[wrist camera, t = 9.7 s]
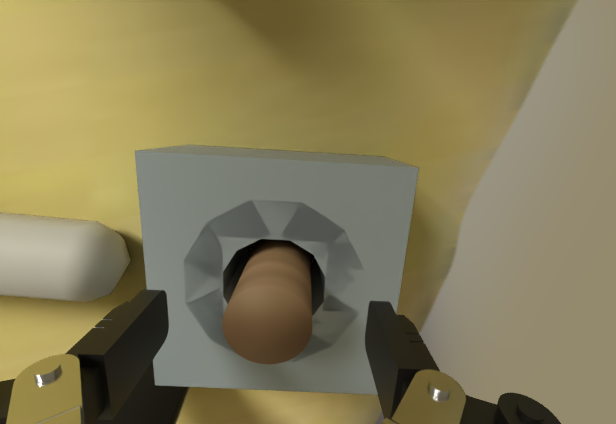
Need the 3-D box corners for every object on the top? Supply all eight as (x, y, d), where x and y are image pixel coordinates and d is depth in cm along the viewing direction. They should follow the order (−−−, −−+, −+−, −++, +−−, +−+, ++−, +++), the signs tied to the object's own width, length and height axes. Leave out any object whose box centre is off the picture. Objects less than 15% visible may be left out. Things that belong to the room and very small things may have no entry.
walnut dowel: (259, 216, 20) (221, 284, 11) (311, 219, 20) (315, 288, 11) (258, 264, 20) (222, 362, 12) (308, 267, 21) (309, 366, 12)
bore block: (188, 144, 18) (134, 150, 13) (383, 156, 19) (419, 167, 13) (195, 316, 21) (154, 385, 16) (363, 324, 22) (384, 395, 16)
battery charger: (102, 350, 22) (-101, 567, 11) (119, 310, 21) (-81, 502, 10) (190, 387, 23) (84, 621, 12) (210, 350, 22) (116, 566, 11)
